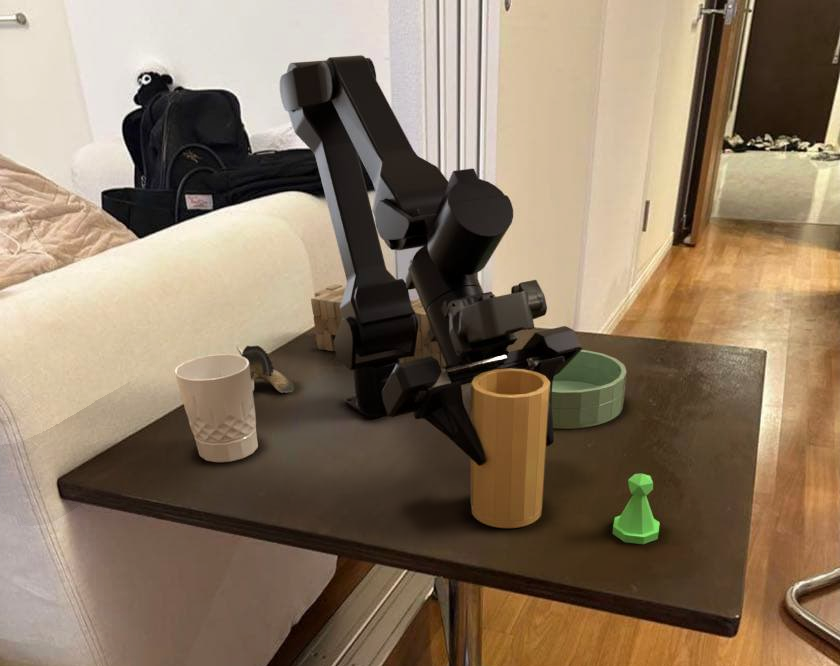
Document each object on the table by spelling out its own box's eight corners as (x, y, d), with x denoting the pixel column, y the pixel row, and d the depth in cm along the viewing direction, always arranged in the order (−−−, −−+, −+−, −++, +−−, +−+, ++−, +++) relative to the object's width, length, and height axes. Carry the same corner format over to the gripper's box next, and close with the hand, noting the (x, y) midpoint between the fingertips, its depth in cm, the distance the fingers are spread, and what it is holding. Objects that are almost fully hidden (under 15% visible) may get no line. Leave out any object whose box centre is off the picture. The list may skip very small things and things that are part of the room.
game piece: (667, 542, 70) (675, 483, 67) (619, 546, 70) (625, 487, 67) (650, 517, 74) (658, 460, 71) (605, 521, 74) (610, 464, 70)
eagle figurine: (211, 394, 102) (272, 385, 99) (209, 339, 102) (270, 329, 99) (244, 404, 109) (301, 396, 106) (242, 353, 110) (299, 344, 106)
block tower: (310, 353, 119) (477, 379, 105) (301, 297, 115) (474, 316, 100) (343, 337, 125) (506, 360, 110) (335, 283, 120) (504, 299, 106)
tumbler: (457, 505, 77) (456, 379, 70) (513, 486, 80) (517, 363, 73) (499, 536, 72) (502, 403, 65) (556, 514, 75) (566, 385, 68)
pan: (482, 400, 99) (481, 366, 96) (568, 374, 105) (570, 341, 102) (556, 439, 89) (558, 402, 86) (647, 407, 95) (652, 371, 92)
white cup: (203, 472, 86) (184, 385, 81) (186, 445, 92) (167, 363, 87) (272, 454, 89) (258, 369, 84) (251, 429, 95) (237, 349, 90)
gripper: (384, 269, 63) (455, 445, 61) (576, 235, 70) (646, 392, 67) (356, 339, 73) (415, 492, 71) (525, 303, 80) (584, 442, 78)
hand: (516, 454), depth 71 cm, fingers closed on tumbler, 7 cm apart
